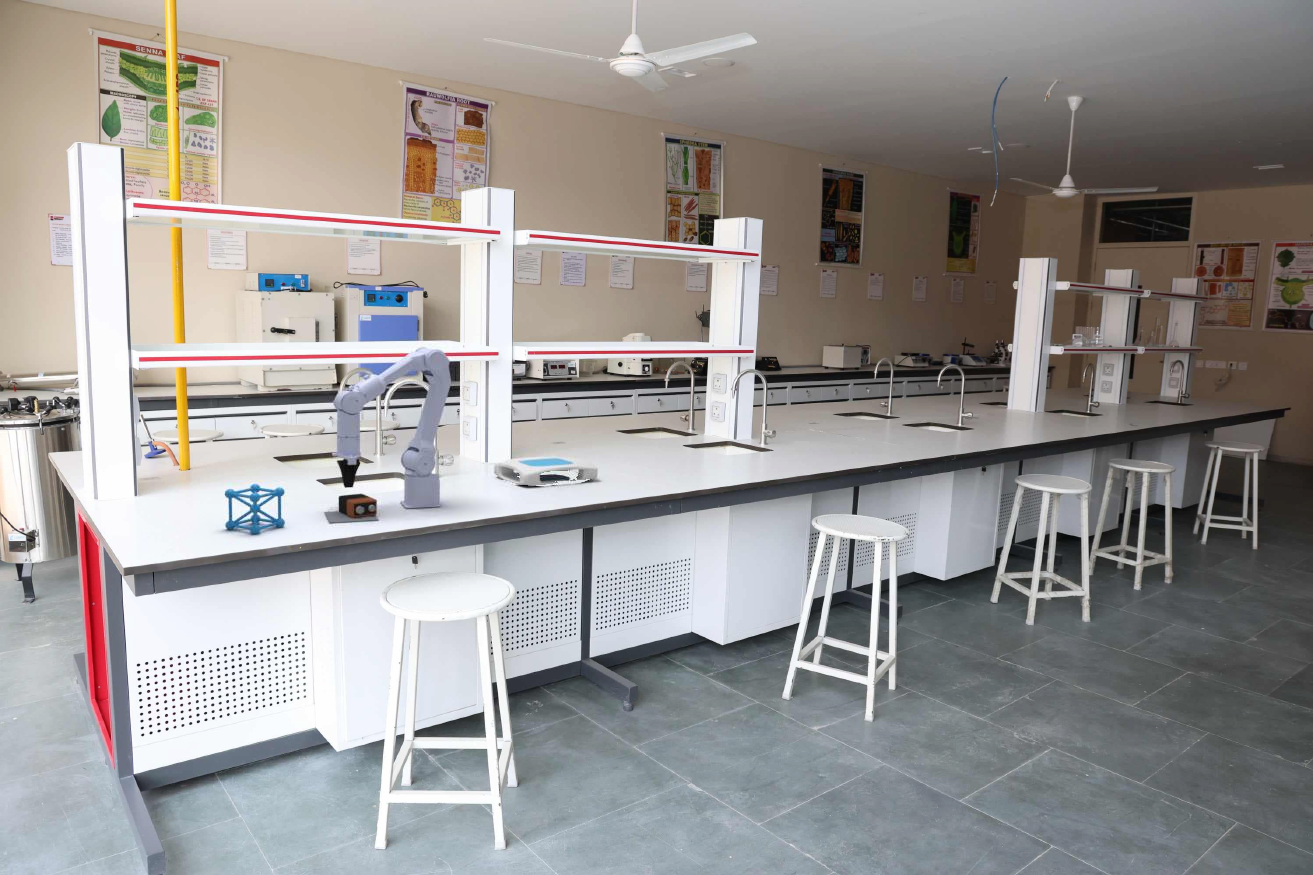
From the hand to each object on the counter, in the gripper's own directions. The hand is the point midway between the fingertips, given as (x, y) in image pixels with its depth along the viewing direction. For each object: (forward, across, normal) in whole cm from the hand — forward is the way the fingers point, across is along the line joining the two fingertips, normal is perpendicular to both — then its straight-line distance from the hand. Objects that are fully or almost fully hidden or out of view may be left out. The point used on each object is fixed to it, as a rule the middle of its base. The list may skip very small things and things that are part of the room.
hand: (348, 487), depth 233 cm
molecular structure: (+7, +12, -23) cm, 27 cm away
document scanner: (+7, -34, +67) cm, 75 cm away
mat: (+7, +5, 0) cm, 9 cm away
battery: (+4, -2, +1) cm, 5 cm away
